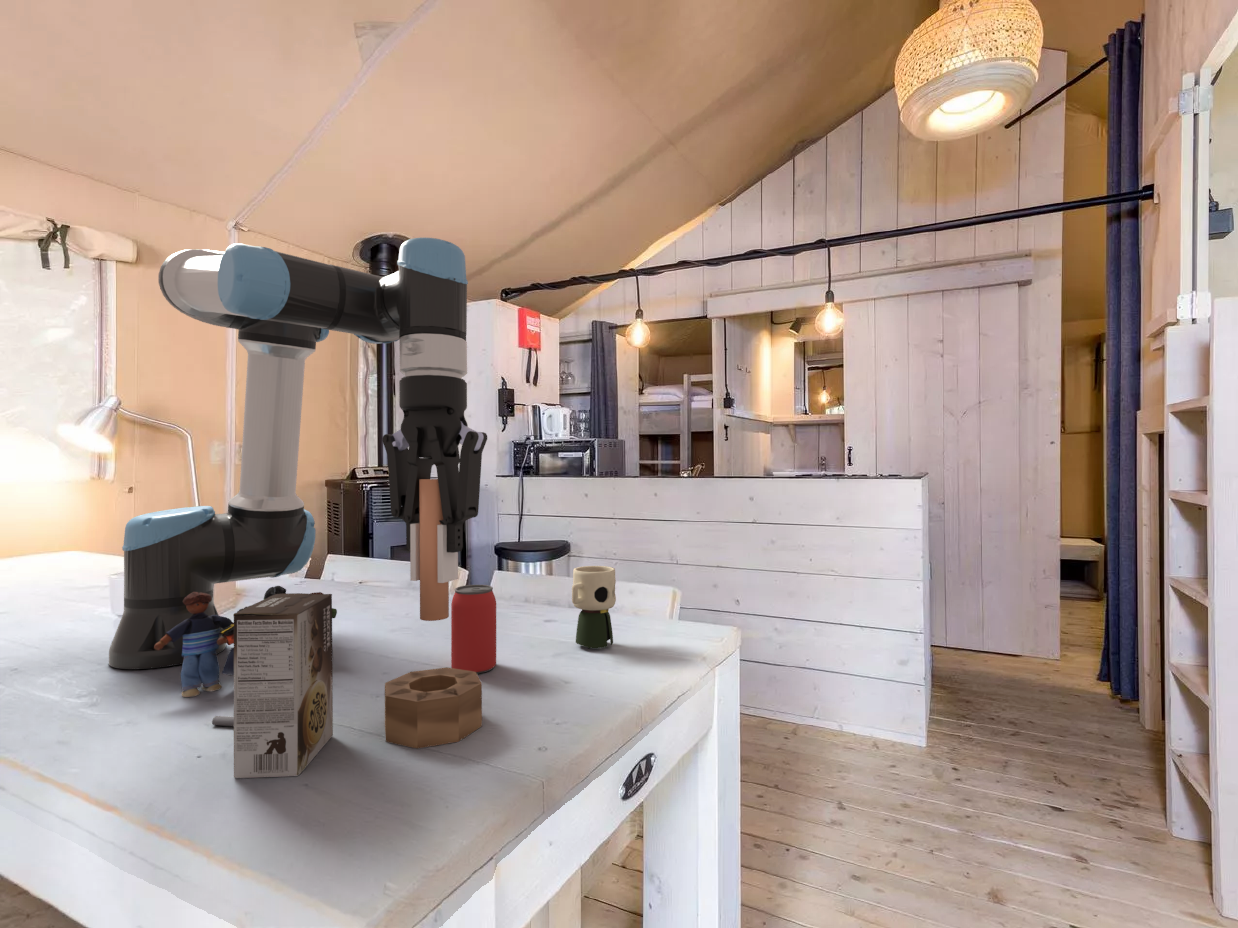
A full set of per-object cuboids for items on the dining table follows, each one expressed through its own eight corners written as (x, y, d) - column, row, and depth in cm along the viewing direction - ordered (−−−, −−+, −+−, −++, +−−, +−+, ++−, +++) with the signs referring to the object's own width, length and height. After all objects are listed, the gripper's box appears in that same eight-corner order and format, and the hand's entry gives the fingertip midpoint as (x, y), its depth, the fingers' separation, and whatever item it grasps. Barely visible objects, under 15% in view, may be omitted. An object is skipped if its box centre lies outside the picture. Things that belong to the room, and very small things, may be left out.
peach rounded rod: (413, 619, 70) (413, 479, 70) (432, 613, 73) (431, 478, 73) (436, 621, 69) (436, 479, 69) (454, 615, 72) (453, 478, 72)
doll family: (195, 711, 76) (195, 603, 76) (147, 701, 79) (147, 597, 79) (341, 657, 98) (341, 573, 98) (298, 651, 101) (299, 569, 101)
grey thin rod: (211, 726, 71) (212, 717, 71) (218, 722, 72) (218, 714, 72) (295, 731, 70) (295, 722, 70) (301, 727, 71) (301, 718, 71)
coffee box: (274, 738, 68) (274, 592, 68) (334, 736, 69) (334, 591, 69) (229, 780, 59) (230, 612, 59) (299, 777, 60) (299, 610, 60)
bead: (364, 736, 68) (364, 691, 69) (427, 703, 78) (427, 664, 78) (440, 753, 65) (440, 705, 65) (496, 716, 74) (496, 674, 74)
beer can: (485, 677, 88) (485, 593, 88) (442, 674, 89) (443, 591, 89) (503, 662, 94) (503, 584, 95) (463, 660, 96) (463, 583, 96)
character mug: (590, 658, 97) (590, 575, 97) (556, 650, 101) (556, 571, 101) (630, 642, 105) (630, 566, 105) (598, 635, 110) (598, 562, 110)
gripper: (355, 377, 71) (355, 580, 71) (472, 367, 65) (473, 590, 65) (401, 385, 78) (401, 570, 78) (511, 377, 72) (512, 578, 72)
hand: (434, 579), depth 71 cm, fingers closed on peach rounded rod, 3 cm apart
